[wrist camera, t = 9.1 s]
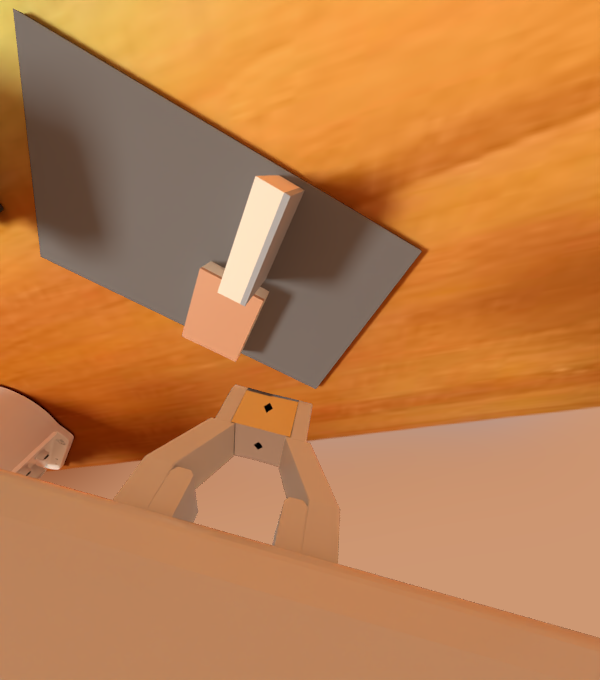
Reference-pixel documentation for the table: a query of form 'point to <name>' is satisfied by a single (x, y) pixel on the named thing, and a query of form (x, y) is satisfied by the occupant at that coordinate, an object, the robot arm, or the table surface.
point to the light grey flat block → (259, 236)
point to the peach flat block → (220, 315)
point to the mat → (186, 209)
